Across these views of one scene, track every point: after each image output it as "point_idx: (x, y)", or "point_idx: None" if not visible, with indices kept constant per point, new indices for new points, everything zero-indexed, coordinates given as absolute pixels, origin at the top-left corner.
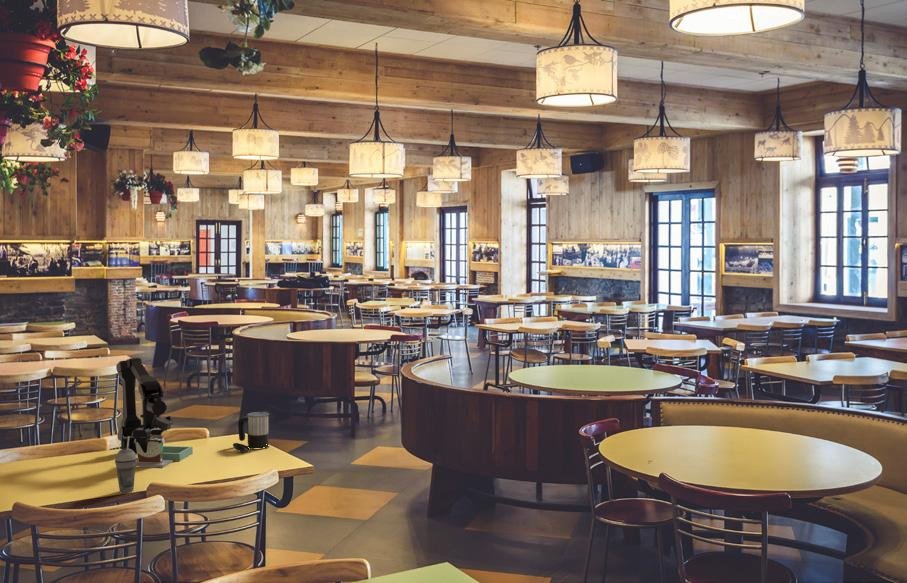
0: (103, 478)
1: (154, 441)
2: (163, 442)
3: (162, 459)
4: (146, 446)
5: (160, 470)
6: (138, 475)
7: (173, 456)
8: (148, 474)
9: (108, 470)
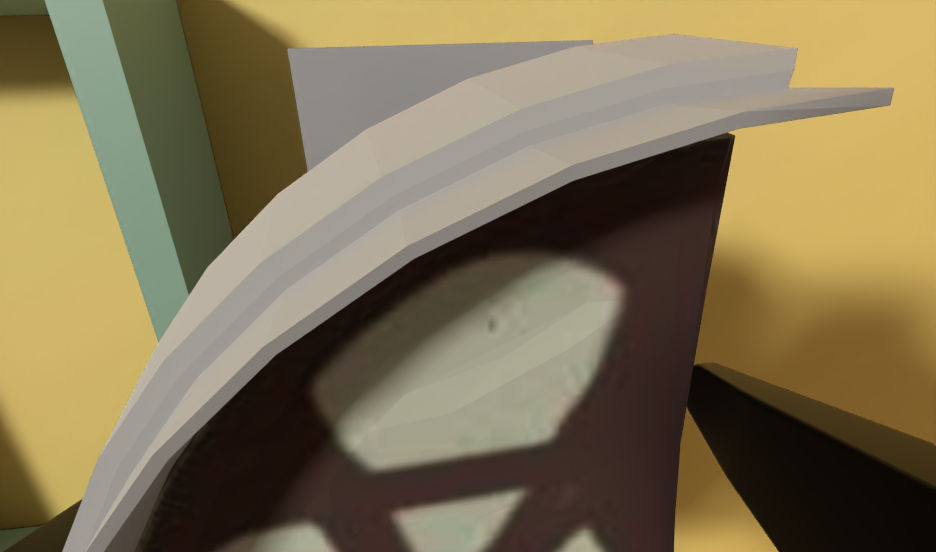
0: (928, 430)
1: (659, 435)
2: (637, 45)
3: None
4: (880, 425)
5: (714, 11)
6: (901, 179)
7: (157, 83)
8: (884, 79)
9: (684, 529)
